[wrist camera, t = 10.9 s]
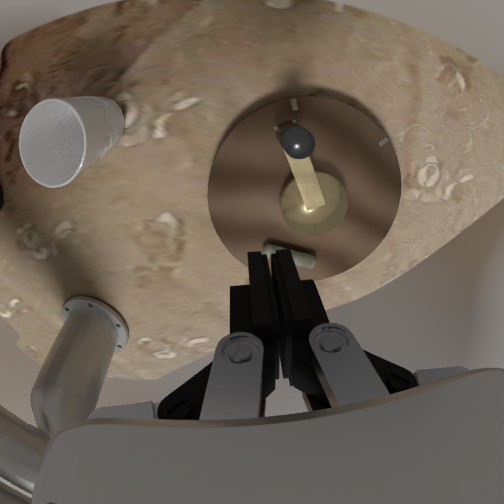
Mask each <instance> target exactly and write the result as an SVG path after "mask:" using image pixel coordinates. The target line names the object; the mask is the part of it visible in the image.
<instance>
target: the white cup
mask: <svg viewBox="0 0 504 504" xmlns="http://www.w3.org/2000/svg"><path fill="white" fill-rule="evenodd" d="M124 124H125V119H124V116H123V113H122V109H121V108H120V107H119V106H118V104H117V103H116V102H115V101H114V100H112V99H109V98H106V97H103V96H97V97H94V96H74V97H63V98H52V99H46V100H43V101H41V102H39V103H38V104H36V105H35V106H34V107H33V108H32V109H31V110H30V111H29V113H28V114H27V116H26V117H25V119H24V121H23V124H22V127H21V130H20V136H19V151H20V156H21V160H22V163H23V165H24V167H25V169H26V171H27V172H28V174H29V175H30V176H31V177H32V178H33V179H34V180H35V181H36V182H37V183H39V184H41V185H43V186H46V187H50V188H56V187H61V186H64V185H66V184H68V183H69V182H71V181H72V180H73V179H74V178H75V177H77V176H78V175H79V174H81V173H82V172H83V171H84V170H86V169H87V168H88V167H90V166H91V165H92V164H94V163H95V162H97V161H98V160H99V159H100V158H101V157H103V156H104V155H105V154H106V153H107V152H108V151H109V150H111V149H112V148H113V147H115V146H116V145H117V144H118V142H119V140H120V139H121V137H122V135H123V132H124Z"/></svg>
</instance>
